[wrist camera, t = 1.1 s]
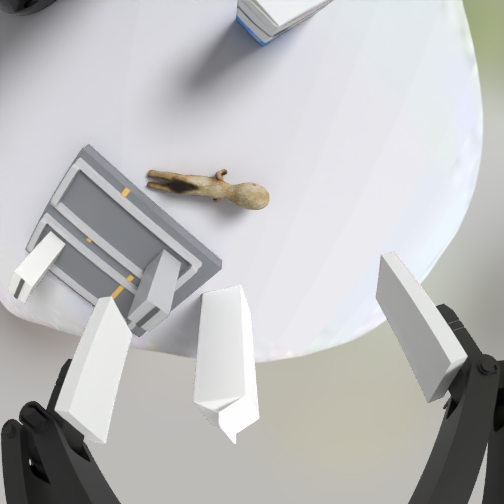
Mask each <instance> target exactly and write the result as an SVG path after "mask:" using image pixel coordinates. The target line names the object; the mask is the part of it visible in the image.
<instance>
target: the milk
mask: <svg viewBox="0 0 504 504" xmlns="http://www.w3.org/2000/svg"><path fill="white" fill-rule="evenodd" d="M193 403H194V404H195V405H196V406H197V408H198V409H199V410H200V411H201V412H202V414H203V415H204V416H205V417H206V418H207V420H208V421H209V422H210V423H211V424H212V425H214V426H217V427H219V428H221V429H222V430H223V431H224V432H225V433H226V435H227V436H228V437H229V438H230V439H231V440H232V442H233V443H234V444H236V433H238V432H239V431H241V430H243V429H244V428H246V427H247V426H249V425H250V424H251V423H253V422H255V421H256V420H257V419H259V408H258V397H257V385H256V373H255V361H254V349H253V337H252V324H251V313H250V310H249V307H248V304H247V301H246V298H245V295H244V292H243V289H242V286H241V285H237V286H233V287H228V288H224V289H219V290H214V291H210V292H205V293H203V297H202V306H201V315H200V325H199V335H198V346H197V357H196V368H195V381H194V394H193Z"/></svg>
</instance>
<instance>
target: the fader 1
mask: <svg viewBox="0 0 504 504" xmlns="http://www.w3.org/2000/svg"><path fill="white" fill-rule="evenodd" d="M65 245H66V244H65V243H64V242H63V241H62V240H60V239H59V238H58V237H57V236H56V235H55V234H54V233H52V232H51V231H50V232H49V233H48V234H47V236H46V237H45V238H44V239H43V240H42V241H41V242H40V243H39V244H38V245H37V246H36V247H35V249H34V250H33V251H32V252H31V253H30V254H29V255H28V256H27V258H26V259H25V260H24V261H23V262H22V263H21V264H20V266H19V267H18V268H17V269H16V270H15V272H14V274H13V277H12V279H11V282H10V285H9V287H8V290H9V291H10V292H11V293H12V294H13V295H14V297H15V298H16V299H17V298H18V299H19V300H20V301H22V302H23V303H24V304H25V302H26V301H27V300H28V298H29V297H30V295H31V294H32V292H33V291H34V289H35V288H36V287H37V285H38V284H39V282H40V281H41V280H42V278H43V277H44V276H45V274H46V273H47V271H48V270H49V269H50V268H51V266H52V265H53V264H54V262H55V261H56V259H57V258H58V256H59V254H60V253H61V251H62V249H63V248H64V246H65Z"/></svg>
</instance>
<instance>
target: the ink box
mask: <svg viewBox="0 0 504 504" xmlns="http://www.w3.org/2000/svg"><path fill="white" fill-rule="evenodd" d="M332 1H333V0H238V6H237V16H236V20H237V21H238V22H239V23H240V24H241V25H242V26H243V27H244V28H245V29H246V30H247V32H248V33H249V34H250V35H251V36H252V37H253V38H254V39H255V40H256V41H257V42H258V43H259V44H260V45H261V46H264V45H266V44H267V43H269V42H270V41H272V40H273V39H275V38H276V37H278V36H279V35H281V34H283V33H284V32H286V31H287V30H289V29H291V28H292V27H294V26H295V25H297V24H299V23H300V22H302V21H304V20H305V19H307V18H309V17H310V16H312V15H314V14H316V13H317V12H319V11H320V10H321V9H323V8H324V7H325V6H327V5H328V4H329V3H331V2H332Z"/></svg>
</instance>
